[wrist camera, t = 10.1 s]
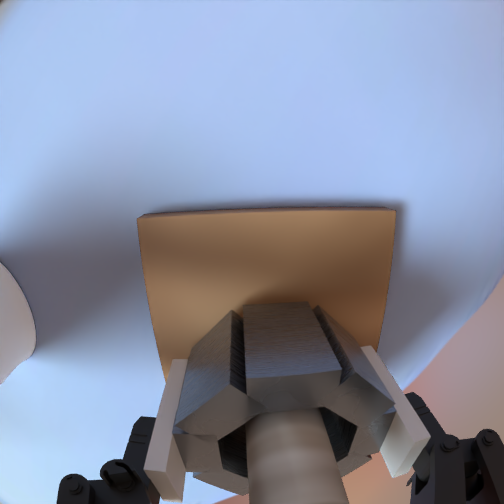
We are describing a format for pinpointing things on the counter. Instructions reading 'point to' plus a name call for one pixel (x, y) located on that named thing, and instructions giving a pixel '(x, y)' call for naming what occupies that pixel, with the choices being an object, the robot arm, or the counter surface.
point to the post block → (265, 292)
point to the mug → (14, 325)
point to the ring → (276, 389)
